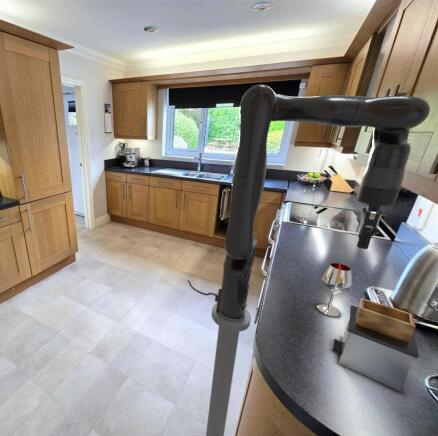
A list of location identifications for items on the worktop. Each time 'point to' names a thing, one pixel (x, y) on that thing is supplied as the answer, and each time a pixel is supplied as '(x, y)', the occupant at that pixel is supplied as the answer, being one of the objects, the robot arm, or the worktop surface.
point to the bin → (375, 353)
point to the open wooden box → (385, 320)
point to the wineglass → (335, 284)
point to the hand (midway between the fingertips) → (362, 243)
